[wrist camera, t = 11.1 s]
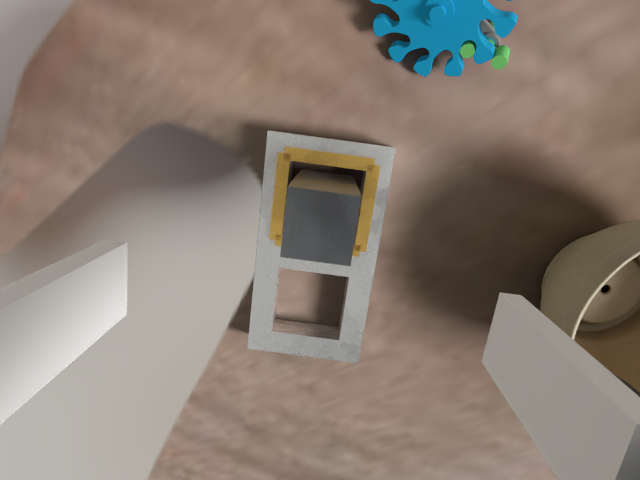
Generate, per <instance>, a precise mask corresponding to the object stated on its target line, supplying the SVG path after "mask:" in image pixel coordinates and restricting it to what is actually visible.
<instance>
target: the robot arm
mask: <svg viewBox="0 0 640 480" xmlns="http://www.w3.org/2000/svg"><path fill="white" fill-rule="evenodd" d="M126 314H127V242H122V241H114V240H107V239H105V240H103V241H101V242H99V243H97V244H95V245H92V246H90V247H88V248H86V249H84V250H82V251H79V252H78V253H75V254H73V255H71V256H69V257H67V258H64V259H62V260H60V261H58V262H56V263H54V264H51V265H49V266H47V267H45V268H43V269H41V270H38V271H36V272H34V273H32V274H30V275H28V276H25V277H23V278H21V279H19V280H17V281H15V282H13V283H10V284H8V285H6V286H4V287H2V288H0V424H2V423H3V422H4V421H5V420H6V419H7V418H8V417H10V416H11V415H12V414H13V413H14V412H15V411H16V410H17V409H19V408H20V407H21V406H22V405H23V404H25V403H26V402H27V401H28V400H29V399H30V398H31V397H32V396H34V395H35V394H36V393H37V392H38V391H39V390H41V389H42V388H43V387H44V386H45V385H46V384H47V383H49V382H50V381H51V380H52V379H53V378H54V377H55V376H57V375H58V374H59V373H60V372H61V371H62V370H63V369H65V368H66V367H67V366H68V365H69V364H70V363H71V362H73V361H74V360H75V359H76V358H77V357H78V356H80V355H81V354H82V353H83V352H84V351H85V350H86V349H88V348H89V347H90V346H91V345H92V344H93V343H94V342H96V341H97V340H98V339H99V338H100V337H101V336H102V335H104V334H105V333H106V332H107V331H108V330H109V329H110V328H112V327H113V326H114V325H115V324H116V323H117V322H118V321H120V320H121V319H122V318H123V317H124V316H125V315H126ZM482 363H483V365H484V366H485V368H486V370H487V371H488V373H489V374H490V376H491V377H492V379H493V380H494V382H495V383H496V385H497V387H498V388H499V390H500V391H501V393H502V394H503V396H504V397H505V399H506V400H507V402H508V404H509V405H510V407H511V408H512V410H513V411H514V413H515V414H516V416H517V417H518V419H519V421H520V422H521V424H522V425H523V427H524V428H525V430H526V431H527V433H528V434H529V436H530V438H531V439H532V441H533V442H534V444H535V445H536V447H537V448H538V450H539V451H540V453H541V454H542V456H543V458H544V459H545V461H546V462H547V464H548V465H549V467H550V468H551V470H552V471H553V473H554V475H555V476H556V478H557V479H558V480H640V392H638V391H637V390H636V389H635V388H634V387H633V386H631V385H630V384H629V383H628V382H626V381H624V380H622V379H621V378H619V377H617V376H616V375H614V374H612V373H611V372H610V371H609V370H608V369H606V368H605V367H604V366H603V365H602V364H601V363H600V362H598V361H597V360H596V359H595V358H594V357H593V356H591V355H590V354H589V353H588V352H587V351H586V350H584V349H583V348H582V347H581V346H580V345H579V344H577V343H576V342H575V341H574V340H573V339H572V338H570V337H569V336H568V335H567V334H566V333H565V332H564V331H562V330H561V329H560V328H559V327H558V326H557V325H555V324H554V323H553V322H552V321H551V320H550V319H548V318H547V317H546V316H545V315H544V314H543V313H541V312H540V311H539V310H538V309H537V308H536V307H534V306H533V305H532V304H531V303H530V302H529V301H527V300H526V299H525V298H524V297H523V296H522V295H516V294H508V293H501V292H500V293H499V297H498V301H497V305H496V309H495V312H494V316H493V320H492V324H491V328H490V331H489V335H488V339H487V343H486V347H485V351H484V354H483V358H482Z"/></svg>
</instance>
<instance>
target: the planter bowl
mask: <svg viewBox="0 0 640 480" xmlns="http://www.w3.org/2000/svg"><path fill="white" fill-rule="evenodd" d="M604 285H608V286H609V291H608V292H606V293H602V292H601V288H602V287H603V286H604ZM541 295H542V298H541V307H540V312H541V313H543V314H544V315H545V316H546V317H547V318H548V319H550V320H551V321H552V322H553V323H554V324H555V325H557V326H558V327H559V328H560V329H561V330H562V331H564V332H565V333H566V334H567V335H568V336H569V337H570V338H572V339H573V340H574V341H575V342H576V343H577V344H579V345H580V346H581V347H582V348H583V349H584V350H586V351H587V352H588V353H589V354H590V355H591V356H593V357H594V358H595V359H596V360H597V361H598V362H600V363H601V364H602V365H603V366H604V367H605V368H606V369H608V370H609V371H610V372H611V373H612V374H614V375H616V376H617V377H619V378H621V379H622V380H624V381H626V382H628V383H629V384H630V385H631V386H633V387H634V388H635V389H636V390H637V391H638V392H640V220H635V221H630V222H626V223H621V224H618V225H614V226H611V227H608V228H605V229H603V230H601V231H598V232H596V233H594V234H590V235H587V236H584V237H581V238H579V239H577V240H575V241H573V242H572V243H570V244H568V245H567V246H566V247H564V248H563V249H562V250H561V251H560V252H559V253H558V254H557V255H556V256H555V257H554V258H553V259H552V261H551V262H550V264H549V266H548V267H547V269H546V272H545V274H544V277H543V281H542V286H541Z"/></svg>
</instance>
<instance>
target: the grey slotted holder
mask: <svg viewBox="0 0 640 480" xmlns="http://www.w3.org/2000/svg"><path fill="white" fill-rule="evenodd" d="M395 151H396V148H394V147H390V146H383V145H376V144H368V143H361V142H353V141H346V140H339V139H331V138H324V137H316V136H309V135H302V134H294V133H287V132H279V131H268V132H267V143H266V154H265V164H264V175H263V186H262V197H261V208H260V219H259V230H258V240H257V251H256V262H255V273H254V284H253V294H252V305H251V316H250V327H249V338H248V349H256V350H263V351H271V352H278V353H285V354H293V355H300V356H308V357H315V358H323V359H330V360H338V361H345V362H353V363H358V361H359V355H360V350H361V344H362V338H363V333H364V327H365V321H366V315H367V310H368V304H369V298H370V293H371V287H372V281H373V276H374V270H375V264H376V259H377V253H378V247H379V242H380V236H381V230H382V225H383V219H384V213H385V208H386V202H387V196H388V190H389V185H390V179H391V173H392V168H393V162H394V156H395ZM293 161H297V162H304V163H311V164H319V165H326V166H334V167H341V168H349V169H356V170H363V177H362V183H361V189H360V193H361V196H362V198H361V204H360V210H359V217H358V223H357V229H356V236H355V242H354V248H353V255H352V261H351V266H344V265H336V264H329V263H321V262H314V261H306V260H299V259H291V258H284V257H280V253H281V243H282V234H283V225H284V216H285V206H286V197H287V188H288V185H289V184H290V183H291V176H292V167H293ZM281 268H285V269H292V270H300V271H307V272H315V273H322V274H329V275H337V276H344V277H347V278H346V285H345V291H344V297H343V304H342V310H341V316H340V323H339V327H334V326H327V325H319V324H312V323H304V322H297V321H290V320H282V319H276V312H277V303H278V294H279V285H280V276H281Z"/></svg>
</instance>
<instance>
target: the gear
mask: <svg viewBox="0 0 640 480" xmlns="http://www.w3.org/2000/svg"><path fill="white" fill-rule="evenodd" d="M370 1H371V2H373V3H375V4H384V5H386V6H388V7H390V8H391V9H392V10H394V11H395V12H396V13H397V14H398V16H399V18H400V21H393V20H392V19H391V18H390V17H389V16H388V15H386V14H384V13H380V14H378V15H377V16H376V18H375V19H374V23H373V27H374V33H375V35H376V36H384V35H385V34H388V33H392V32H397V33H402V34H405V35H407V36H408V37H409V38H410V42H404V41H400V40H397V41H394V42H393V43H392V45H391V46H390V48H389V50H388V51H389V54H390V56H391V57H392V59H393V60H394V61H395V62H400V61H401V60H402V59H403V58H404V56H405V55H406V54H407V53H408V52H410V51H412V50H414V49H418V48H426V49H427V50H428V51H429V54H428V55H424V56H421V57H419V58H418V59H417V61H416V63H415V65H414V70H415V71H416V72H417V73H418V74H420V75H422V76H425V77H426V76H428V75H429V73H430V71H431V69H432V67H433V60H434V58H435V57H436V56H437V55H438V54H439V53H440V52H441V51H443V50H449V51H451V52H452V54H453V56H452V57H451V58H450V59H449V60H448V61H447V63H446V66H445V68H444V73H445V75H448V76H460V75H461V73H462V70H463V68H464V61H463V59H462V57H464V58H470V57H472V56H473V55H474V57H473V58H474V61H475V62H476V63H477V64H481V63H484V62H486V61H488V60H490V59H492V61H491V65H492V67H493V68H495V69H502V68H504V67H505V66H506V64H507V61H508V58H509V54H510V49H509V48H508V47H507V46H504V45H502V46H499V45H500V41H501V37H502V38H504V37H506V36H507V35H508V34H509V33H510V32H511V31H512V29H513V28H514V26H515V25H516V22H517V19H518V17H517V15H516V14H515V13H513V12H506V11H501V10H498V9H496V8H495V7H493V6H492V5H491V4H490V3H489V2H488V1H487V0H370ZM507 1H512V0H507ZM486 19H489V20H491V22H490V23H489V22H488V21H487V20H486Z"/></svg>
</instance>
